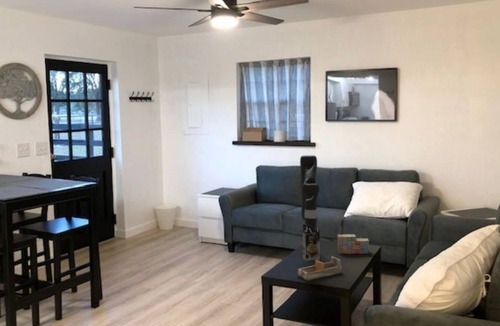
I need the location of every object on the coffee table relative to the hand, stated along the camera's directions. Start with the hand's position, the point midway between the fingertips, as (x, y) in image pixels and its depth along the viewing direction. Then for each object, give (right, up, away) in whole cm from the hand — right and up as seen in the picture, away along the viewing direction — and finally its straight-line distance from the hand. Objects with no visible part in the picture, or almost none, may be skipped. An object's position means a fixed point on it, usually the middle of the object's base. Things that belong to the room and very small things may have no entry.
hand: (311, 242), depth 286 cm
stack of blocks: (+36, -15, +48) cm, 62 cm away
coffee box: (0, -10, +1) cm, 10 cm away
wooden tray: (+6, -20, +5) cm, 22 cm away
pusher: (+6, -19, +5) cm, 21 cm away
